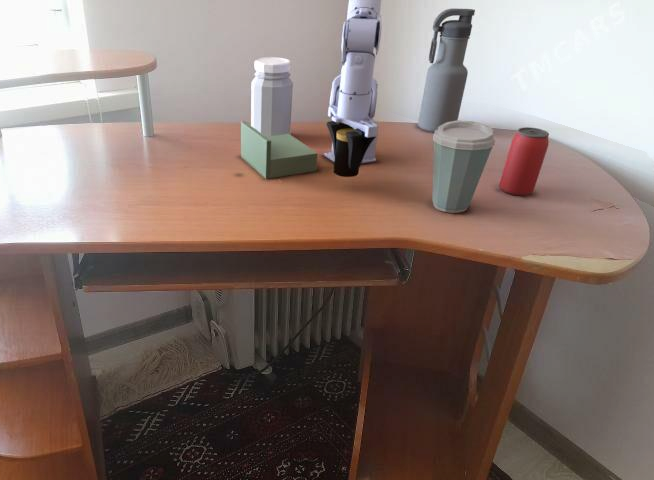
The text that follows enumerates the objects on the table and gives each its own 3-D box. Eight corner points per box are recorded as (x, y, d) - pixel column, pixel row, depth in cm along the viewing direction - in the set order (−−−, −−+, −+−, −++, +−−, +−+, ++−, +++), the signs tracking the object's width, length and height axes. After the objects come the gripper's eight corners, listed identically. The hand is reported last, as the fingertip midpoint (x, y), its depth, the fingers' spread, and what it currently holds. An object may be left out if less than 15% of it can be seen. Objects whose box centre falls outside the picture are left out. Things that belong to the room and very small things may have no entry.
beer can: (531, 186, 112) (550, 128, 106) (533, 199, 107) (553, 139, 100) (497, 182, 114) (514, 124, 107) (498, 194, 109) (515, 134, 102)
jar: (290, 144, 132) (294, 65, 122) (250, 143, 132) (251, 64, 122) (289, 132, 140) (293, 56, 130) (251, 131, 140) (252, 56, 130)
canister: (350, 166, 112) (354, 127, 107) (364, 175, 108) (369, 135, 103) (328, 169, 110) (331, 130, 105) (341, 178, 106) (345, 138, 101)
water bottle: (417, 132, 141) (439, 11, 125) (414, 121, 149) (434, 6, 133) (457, 134, 140) (485, 12, 124) (452, 123, 148) (478, 7, 132)
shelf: (288, 150, 128) (289, 116, 124) (316, 171, 118) (319, 134, 113) (240, 156, 124) (240, 121, 120) (265, 178, 114) (266, 141, 109)
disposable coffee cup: (469, 223, 98) (490, 141, 89) (411, 209, 103) (426, 129, 94) (483, 203, 105) (504, 125, 97) (428, 190, 110) (444, 115, 101)
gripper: (317, 83, 104) (311, 153, 112) (357, 103, 93) (348, 178, 101) (348, 80, 106) (341, 148, 114) (391, 99, 95) (380, 173, 103)
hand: (346, 162), depth 108 cm, fingers closed on canister, 5 cm apart
